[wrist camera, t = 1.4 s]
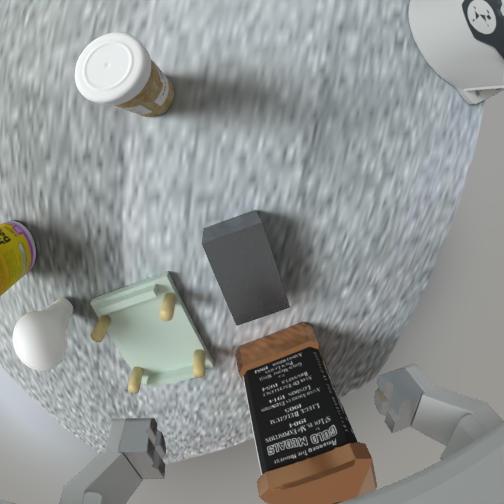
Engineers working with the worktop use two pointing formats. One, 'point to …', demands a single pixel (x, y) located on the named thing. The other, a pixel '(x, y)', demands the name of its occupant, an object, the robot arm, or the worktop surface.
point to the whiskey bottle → (300, 423)
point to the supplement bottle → (15, 253)
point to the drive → (245, 267)
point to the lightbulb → (43, 336)
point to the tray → (152, 332)
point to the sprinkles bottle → (123, 76)
